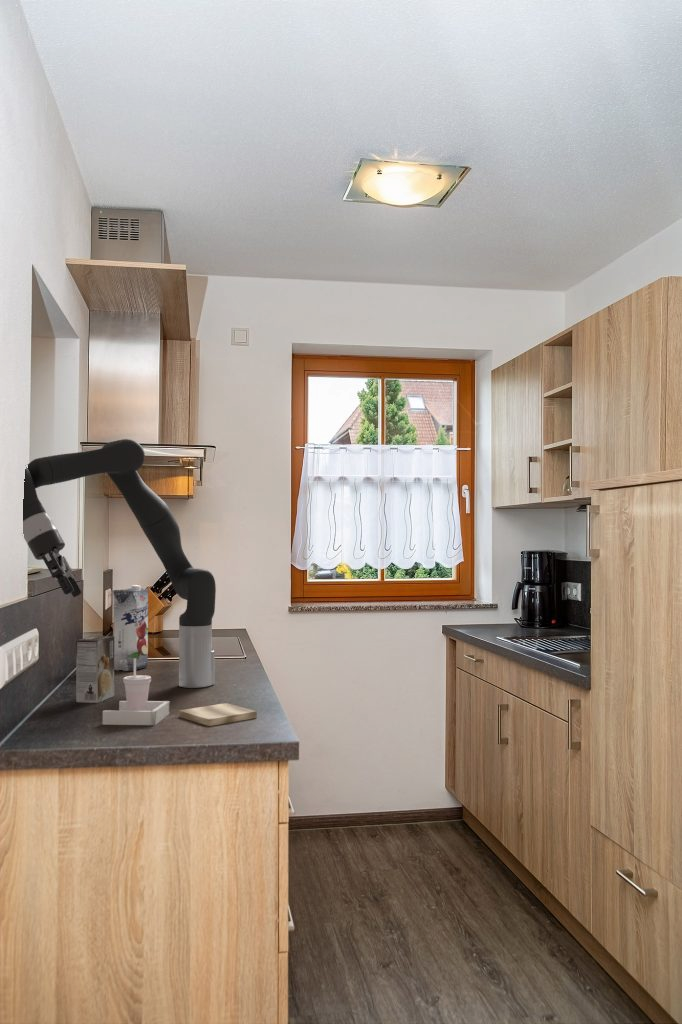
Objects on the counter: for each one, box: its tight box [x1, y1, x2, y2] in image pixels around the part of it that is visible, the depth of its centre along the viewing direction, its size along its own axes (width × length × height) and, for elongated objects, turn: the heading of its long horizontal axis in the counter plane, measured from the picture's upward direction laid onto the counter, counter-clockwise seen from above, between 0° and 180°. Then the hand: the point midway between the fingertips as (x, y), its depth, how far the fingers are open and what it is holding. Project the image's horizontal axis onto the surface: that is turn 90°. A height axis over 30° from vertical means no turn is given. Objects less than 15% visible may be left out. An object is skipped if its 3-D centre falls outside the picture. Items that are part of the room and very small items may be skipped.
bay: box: [102, 700, 171, 726], centre depth 191 cm, size 12×12×3 cm
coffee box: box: [75, 635, 115, 704], centre depth 215 cm, size 9×6×16 cm
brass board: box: [178, 702, 258, 727], centre depth 193 cm, size 13×13×2 cm
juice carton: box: [112, 584, 149, 672], centre depth 265 cm, size 9×10×27 cm
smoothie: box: [122, 658, 152, 711], centre depth 191 cm, size 6×6×14 cm
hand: (74, 594), depth 196 cm, fingers open, 8 cm apart
